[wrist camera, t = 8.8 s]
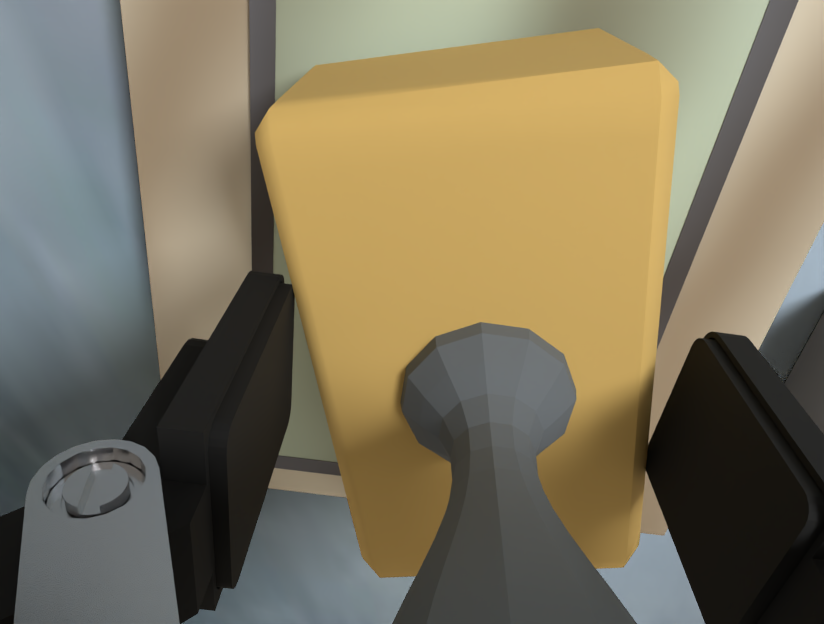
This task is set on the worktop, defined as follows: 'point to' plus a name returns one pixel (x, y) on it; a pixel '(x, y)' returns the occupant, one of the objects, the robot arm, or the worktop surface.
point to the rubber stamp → (484, 309)
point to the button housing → (810, 376)
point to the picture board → (451, 27)
